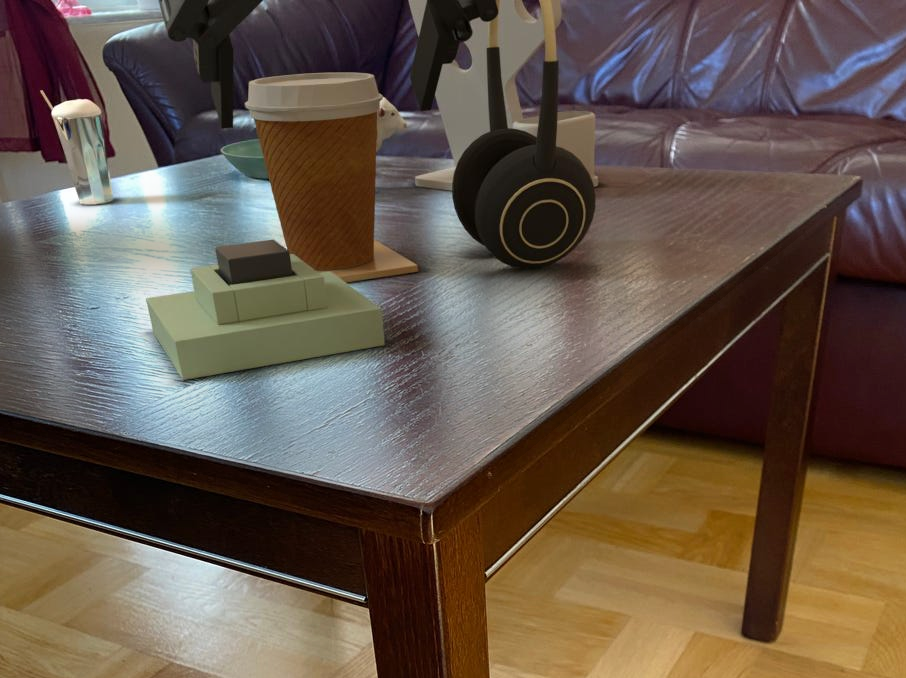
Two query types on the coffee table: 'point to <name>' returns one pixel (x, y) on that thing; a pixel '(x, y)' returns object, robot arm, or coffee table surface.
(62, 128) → the milkshake
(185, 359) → the tiered green pedestal
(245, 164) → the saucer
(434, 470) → the coffee table surface
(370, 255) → the disposable coffee cup
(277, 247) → the key
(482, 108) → the phone holder
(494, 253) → the headphones
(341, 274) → the coaster
